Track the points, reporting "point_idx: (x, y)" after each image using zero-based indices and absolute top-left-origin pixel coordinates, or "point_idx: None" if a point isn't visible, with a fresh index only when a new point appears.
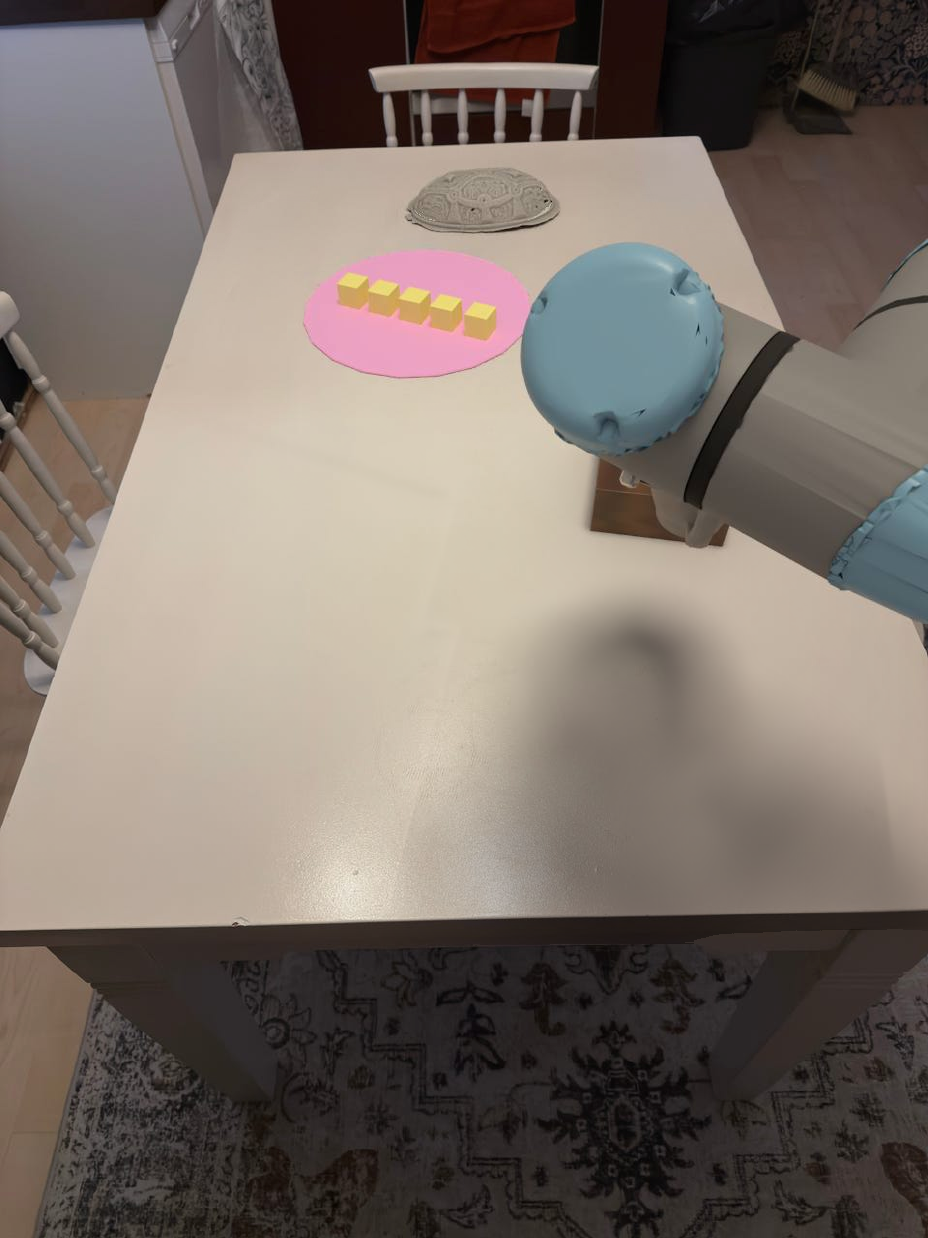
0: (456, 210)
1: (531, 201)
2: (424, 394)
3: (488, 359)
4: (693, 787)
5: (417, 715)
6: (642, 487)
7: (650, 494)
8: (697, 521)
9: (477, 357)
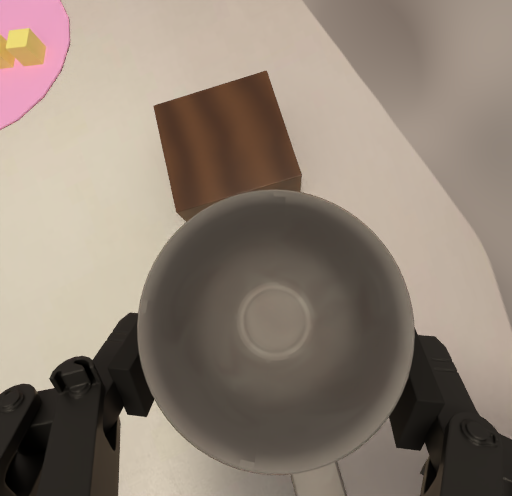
0: None
1: None
2: (15, 144)
3: (51, 83)
4: (359, 455)
5: (127, 483)
6: (215, 191)
7: (224, 196)
8: None
9: (42, 85)
